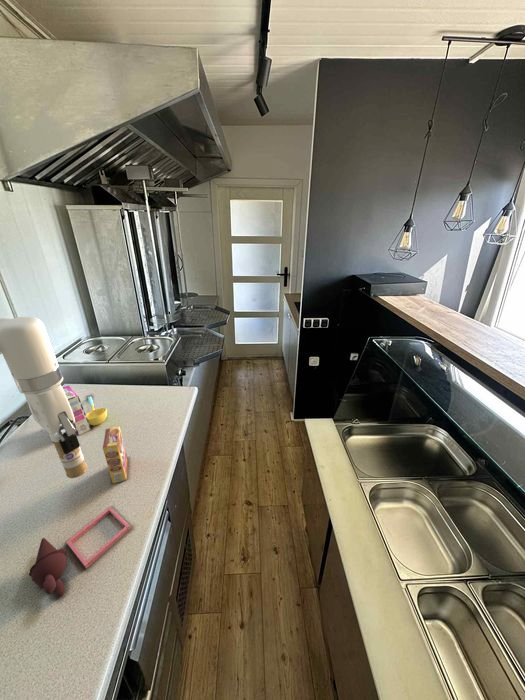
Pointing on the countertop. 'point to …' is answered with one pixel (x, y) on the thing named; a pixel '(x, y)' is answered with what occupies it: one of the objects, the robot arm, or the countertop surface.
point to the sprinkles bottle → (70, 458)
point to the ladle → (96, 414)
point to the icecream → (49, 568)
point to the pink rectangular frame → (107, 545)
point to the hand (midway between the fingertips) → (66, 444)
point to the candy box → (115, 454)
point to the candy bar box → (77, 411)
